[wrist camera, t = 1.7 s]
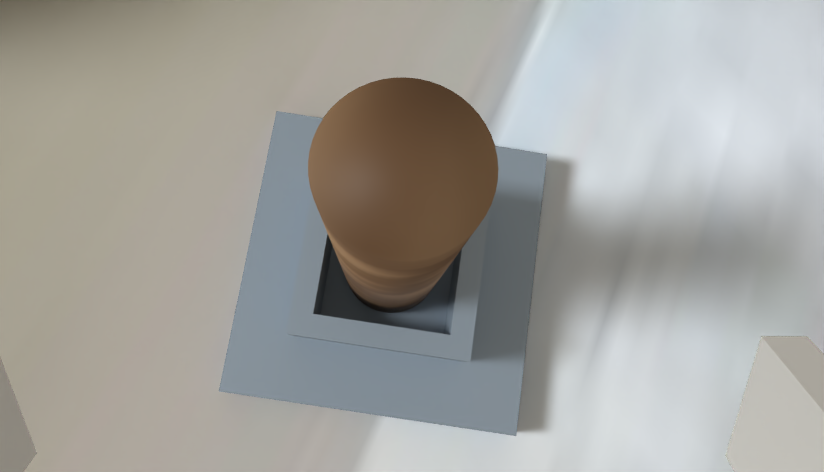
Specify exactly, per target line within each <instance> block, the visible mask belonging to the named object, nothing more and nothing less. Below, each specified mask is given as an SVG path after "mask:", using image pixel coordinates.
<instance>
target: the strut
mask: <svg viewBox="0 0 824 472" xmlns="http://www.w3.org/2000/svg"><path fill="white" fill-rule="evenodd" d="M308 177H309V184H310V189H311V192H312V195H313V199H314V201H315V204H316V206H317V209H318V211H319V214H320V216H321V218H322V221H323V223H324V226H325V228H326V231H327V233H328V236H329V238H330V240H331V243H332V245H333V248H334V250H335V253H336V255H337V258H338V260H339V262H340V265H341V267H342V270H343V272H344V275H345V277H346V280H347V282H348V284H349V286H350V289H351V290H352V292H353V293H354V295H355V296H356V297H357V298H358V299H359V300H360V301H361V302H362V303H363V304H365V305H366V306H368V307H370V308H372V309H374V310H377V311H380V312H385V313H397V312H403V311H406V310H409V309H411V308H413V307H415V306H416V305H418V304H419V303H420V302H422V301H423V300H424V299H425V298H426V297H427V295H428V294H429V293H430V291H431V290H432V289H433V287H434V286H435V285H436V283H437V282H438V280H439V279H440V278H441V276H442V275H443V274H444V272H445V271H446V270H447V268H448V267H449V265H450V264H451V263H452V261H453V260H454V259H455V257H456V256H457V255H458V253H459V252H460V250H461V249H462V248H463V246H464V245H465V244H466V242H467V241H468V240H469V238H470V237H471V235H472V234H473V233H474V231H475V230H476V229H477V227H478V226H479V225H480V223H481V222H482V220H483V219H484V217H485V216H486V214H487V212H488V210H489V208H490V206H491V204H492V201H493V198H494V196H495V193H496V187H497V182H498V158H497V153H496V148H495V144H494V142H493V139H492V136H491V134H490V132H489V130H488V128H487V126H486V124H485V123H484V121H483V120H482V118H481V117H480V115H479V114H478V113H477V112H476V111H475V110H474V108H473V107H472V106H471V105H470V104H469V103H467V102H466V101H465V100H464V99H463V98H462V97H460V96H459V95H457V94H456V93H454V92H453V91H451V90H449V89H447V88H445V87H443V86H441V85H438V84H435V83H432V82H430V81H425V80H421V79H415V78H389V79H382V80H378V81H375V82H371V83H368V84H366V85H364V86H361V87H359V88H357V89H355V90H354V91H352V92H350V93H348V94H347V95H346V96H344V97H343V98H342V99H340V100H339V101H338V102H337V103H336V104H335V105H334V106H333V107H332V108H331V109H330V110H329V111H328V113H327V114H326V115H325V117H324V118H323V119H322V121H321V123H320V124H319V126H318V128H317V130H316V132H315V135H314V137H313V140H312V143H311V147H310V151H309V159H308Z"/></svg>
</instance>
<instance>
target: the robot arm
mask: <svg viewBox="0 0 824 472" xmlns="http://www.w3.org/2000/svg"><path fill="white" fill-rule="evenodd" d="M36 454H37V452H36V449H35V447H34V444H33V442H32V439H31V436H30V434H29V431H28V428H27V426H26V423H25V421H24V418H23V415H22V413H21V410H20V407H19V405H18V402H17V400H16V397H15V394H14V392H13V389H12V387H11V384H10V381H9V379H8V376H7V373H6V371H5V368H4V366H3V363H2V360H1V358H0V472H24V470H25V469H26V468H27V466H28V465H29V463H30V462H31V461H32V459H33V458H34V456H35V455H36ZM725 456H726V458H727V460H728V461H729V463H730V465H731V467H732V468H733V470H734V472H824V354H823V353H822V352H821V351H820V350H819V349H818V348H817V346H816V345H815V344H814V343H813V342H812V341H811V340H810V339H809V338H808V337H807V336H761V339H760V343H759V346H758V349H757V353H756V356H755V359H754V363H753V366H752V369H751V373H750V376H749V379H748V382H747V386H746V389H745V392H744V396H743V399H742V402H741V406H740V409H739V412H738V415H737V419H736V422H735V425H734V429H733V432H732V435H731V439H730V442H729V445H728V449H727V452H726V455H725Z"/></svg>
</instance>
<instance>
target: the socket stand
mask: <svg viewBox="0 0 824 472" xmlns="http://www.w3.org/2000/svg"><path fill="white" fill-rule="evenodd" d="M322 119H323V118H317V117H310V116H304V115H298V114H291V113H285V112H279V111H277V112H276V117H275V122H274V126H273V131H272V136H271V141H270V146H269V151H268V156H267V160H266V165H265V170H264V175H263V180H262V185H261V189H260V194H259V199H258V204H257V209H256V214H255V219H254V223H253V228H252V233H251V238H250V243H249V248H248V252H247V257H246V262H245V267H244V272H243V277H242V282H241V286H240V291H239V296H238V301H237V306H236V311H235V315H234V320H233V325H232V330H231V335H230V340H229V344H228V349H227V354H226V359H225V364H224V369H223V374H222V378H221V383H220V388H219V391H221V392H227V393H234V394H241V395H247V396H254V397H261V398H267V399H274V400H281V401H287V402H294V403H300V404H307V405H314V406H320V407H327V408H334V409H340V410H347V411H354V412H360V413H367V414H374V415H380V416H387V417H394V418H400V419H407V420H414V421H420V422H427V423H433V424H440V425H447V426H453V427H460V428H467V429H473V430H480V431H487V432H493V433H500V434H507V435H513V436H516V433H517V424H518V415H519V406H520V396H521V387H522V378H523V369H524V360H525V351H526V342H527V333H528V323H529V314H530V305H531V296H532V287H533V278H534V269H535V260H536V251H537V241H538V232H539V223H540V214H541V205H542V196H543V187H544V178H545V168H546V159H547V154H542V153H536V152H529V151H523V150H517V149H511V148H504V147H498V146H495V148H496V153H497V158H498V182H497V187H496V193H495V196H494V198H493V201H492V204H491V206H490V208H489V210H488V212H487V214H486V216H485V217H484V219H483V220H482V222H481V223H480V225H479V226H478V227H477V229H476V230H475V231H474V233H473V234H472V235H471V237H470V238H469V240H468V241H467V242H466V244H465V245H464V246H463V248H462V249H461V250H460V252H459V253H458V255H457V256H456V257H455V259H454V260H453V261H452V263H451V264H450V265H449V267H448V268H447V270H446V271H445V272H444V274H443V275H442V276H441V278H440V279H439V280H438V282H437V283H436V285H435V286H434V287H433V289H432V290H431V291H430V293H429V294H428V295H427V297H426V298H425V299H424V300H423V301H422V302H420V303H419V304H418V305H416V306H415V307H413V308H411V309H409V310H406V311H403V312H397V313H385V312H380V311H377V310H374V309H372V308H370V307H368V306H366V305H365V304H363V303H362V302H361V301H360V300H359V299H358V298H357V297H356V296H355V295H354V293H353V292H352V290H351V289H350V286H349V284H348V282H347V280H346V277H345V275H344V272H343V270H342V267H341V265H340V262H339V260H338V258H337V255H336V253H335V250H334V248H333V245H332V243H331V240H330V238H329V236H328V233H327V231H326V228H325V226H324V223H323V221H322V218H321V216H320V214H319V211H318V209H317V206H316V204H315V201H314V199H313V195H312V192H311V189H310V184H309V177H308V159H309V151H310V147H311V143H312V140H313V137H314V135H315V132H316V130H317V128H318V126H319V124H320V123H321V121H322Z"/></svg>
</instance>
